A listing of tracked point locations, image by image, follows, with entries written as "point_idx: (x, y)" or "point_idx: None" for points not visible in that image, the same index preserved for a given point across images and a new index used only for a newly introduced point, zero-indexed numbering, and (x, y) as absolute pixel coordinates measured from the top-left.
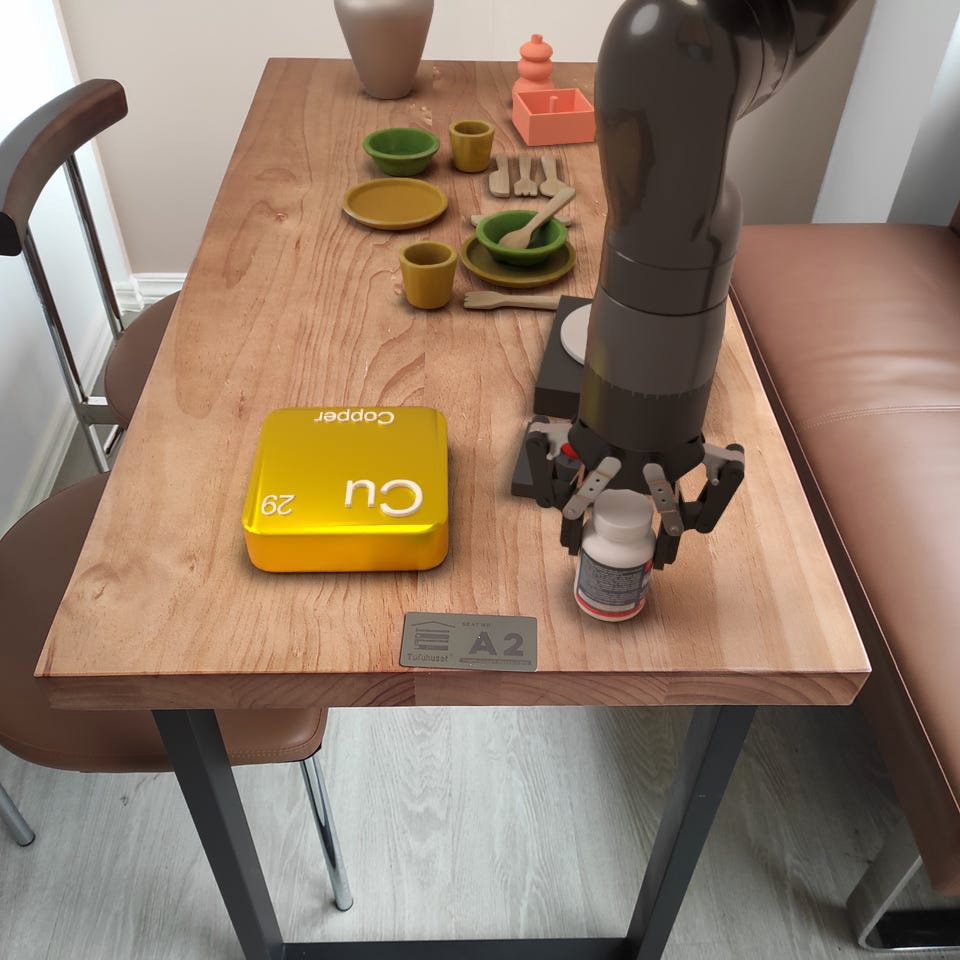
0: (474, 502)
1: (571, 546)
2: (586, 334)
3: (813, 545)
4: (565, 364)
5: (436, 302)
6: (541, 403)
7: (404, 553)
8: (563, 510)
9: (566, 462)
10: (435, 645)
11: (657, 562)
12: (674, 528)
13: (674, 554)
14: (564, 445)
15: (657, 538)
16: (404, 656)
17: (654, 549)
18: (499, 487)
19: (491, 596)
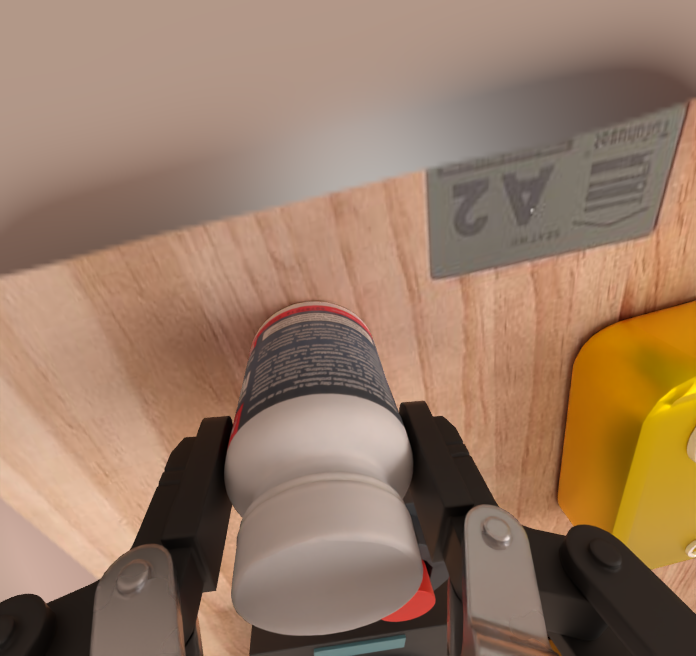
0: (523, 450)
1: (428, 421)
2: None
3: (25, 516)
4: (426, 652)
5: (556, 649)
6: (444, 593)
7: (684, 334)
8: (524, 535)
9: (419, 550)
10: (613, 169)
11: (214, 435)
12: (130, 587)
13: (170, 468)
14: (426, 574)
15: (227, 495)
16: (675, 126)
17: (224, 468)
18: (488, 478)
19: (506, 303)
